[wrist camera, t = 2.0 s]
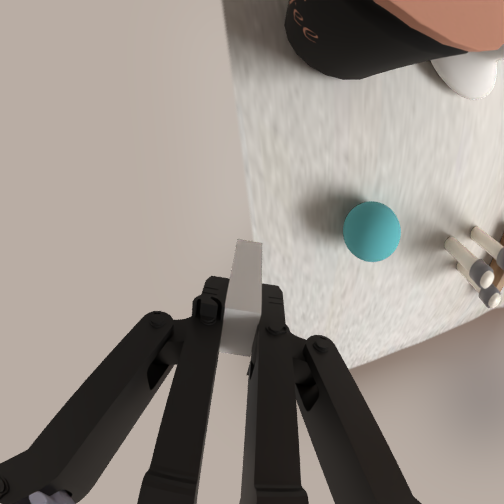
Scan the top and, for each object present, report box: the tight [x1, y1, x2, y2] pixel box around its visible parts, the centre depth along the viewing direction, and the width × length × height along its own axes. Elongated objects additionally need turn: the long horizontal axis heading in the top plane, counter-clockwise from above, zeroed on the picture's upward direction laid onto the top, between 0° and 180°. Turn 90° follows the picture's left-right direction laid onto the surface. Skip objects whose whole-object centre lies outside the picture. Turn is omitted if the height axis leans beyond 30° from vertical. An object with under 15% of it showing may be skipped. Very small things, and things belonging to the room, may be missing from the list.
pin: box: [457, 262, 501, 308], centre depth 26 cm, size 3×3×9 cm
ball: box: [343, 202, 401, 262], centre depth 25 cm, size 6×6×6 cm
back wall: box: [490, 233, 504, 292], centre depth 28 cm, size 12×2×4 cm, turn 170°
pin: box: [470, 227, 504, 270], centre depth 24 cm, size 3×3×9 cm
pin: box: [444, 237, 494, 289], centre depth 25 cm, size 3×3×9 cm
